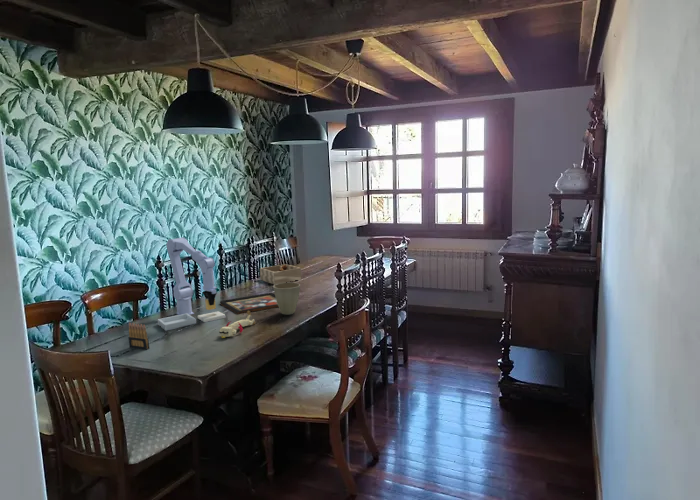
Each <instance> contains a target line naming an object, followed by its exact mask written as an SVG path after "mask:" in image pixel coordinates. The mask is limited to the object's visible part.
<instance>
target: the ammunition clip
mask: <svg viewBox="0 0 700 500" xmlns="http://www.w3.org/2000/svg"><path fill="white" fill-rule="evenodd" d="M128 345H129V348H131V349H137V350H145V351H147V350H149V349H150V344H149V337H148V332H147V328H146V325H145V323H143V324H142V323H137V324H136V322H130V321H129V322H128Z"/></svg>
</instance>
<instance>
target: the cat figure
mask: <svg viewBox="0 0 700 500" xmlns="http://www.w3.org/2000/svg"><path fill="white" fill-rule="evenodd" d="M246 314H247V317H246V318H245V319H240V320H236V321H234V322H232V321H229V322H228V321H227V322H228V323H227V324H225V326H223V327H221V328H220V329H219V331H218V333H219V334H220V335H219V337H221V339H225V338H229V337H233V336H235V335H236V334H237V330H238V329H239V334H241V333H242V332H243V331H244V328H243V327H248V326H252V325H256V321H255V319H250V318H251V316H252V312H250V311H247V313H246Z"/></svg>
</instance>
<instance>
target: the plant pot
mask: <svg viewBox="0 0 700 500" xmlns="http://www.w3.org/2000/svg"><path fill="white" fill-rule="evenodd" d="M272 288H273V294H275V297H276V301H277V304H278V306H279V307H278V309H279V311H280V313H281V315H293V314H295V312H296V309H297V305H298V301H299V297H300V288H301V284H300V283H298V282H287V283H279V284H276V285H274V284H273V287H272Z"/></svg>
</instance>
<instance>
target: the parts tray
mask: <svg viewBox="0 0 700 500" xmlns="http://www.w3.org/2000/svg"><path fill="white" fill-rule="evenodd" d="M157 324H158V326H159V327H160V326H161V327H160V328H161V329H163V330H164V331H165V332H167V331H171V330H174V329H178V328H182V327H187V326H191V325H196V324H197V318H195V317H194V316H192V314H190V315H189V314H188V313H187V314H182V315H178V314H176V315H172V316H168V317H167V316H166V317H163V318H157Z"/></svg>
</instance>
